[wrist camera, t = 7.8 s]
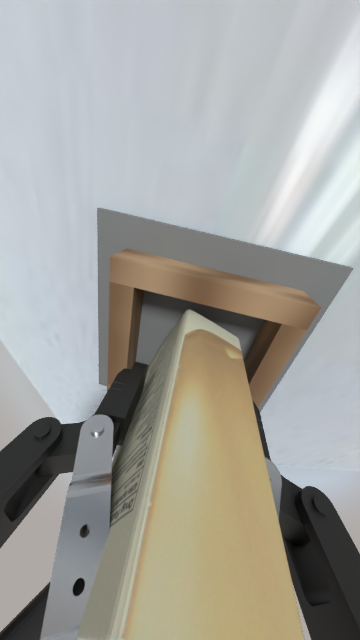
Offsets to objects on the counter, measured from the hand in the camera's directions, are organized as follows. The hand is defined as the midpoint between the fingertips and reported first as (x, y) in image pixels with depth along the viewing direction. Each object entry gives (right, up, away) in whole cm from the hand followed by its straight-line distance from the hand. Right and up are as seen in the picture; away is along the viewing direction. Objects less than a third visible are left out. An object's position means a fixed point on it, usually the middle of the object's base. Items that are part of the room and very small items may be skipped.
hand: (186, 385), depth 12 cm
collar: (+1, +2, +5) cm, 5 cm away
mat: (+1, +2, +5) cm, 5 cm away
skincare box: (+1, +2, +3) cm, 4 cm away
